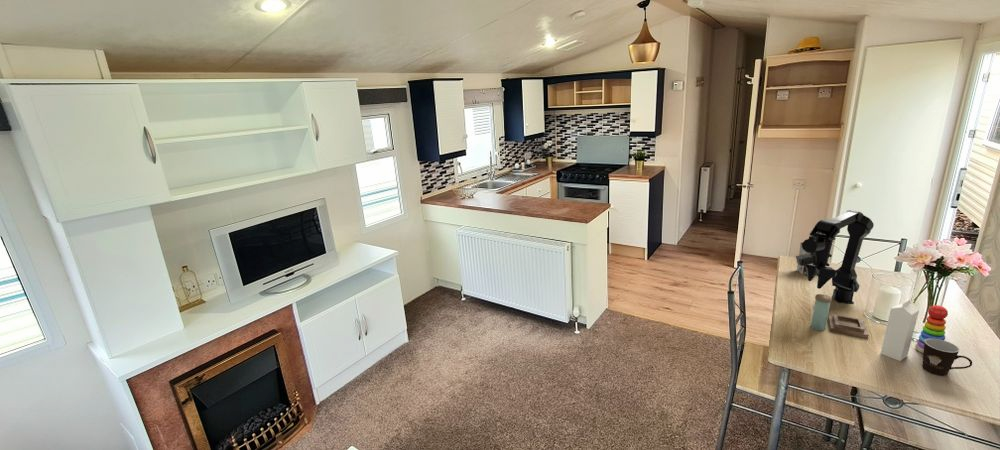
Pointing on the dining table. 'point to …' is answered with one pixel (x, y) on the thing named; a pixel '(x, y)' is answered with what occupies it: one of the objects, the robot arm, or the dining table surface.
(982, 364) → the dining table surface
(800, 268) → the coffee box
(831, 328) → the brown wooden square tray
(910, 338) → the milk
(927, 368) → the coffee mug
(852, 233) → the robot arm
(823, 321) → the cup
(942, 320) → the stacking toy
